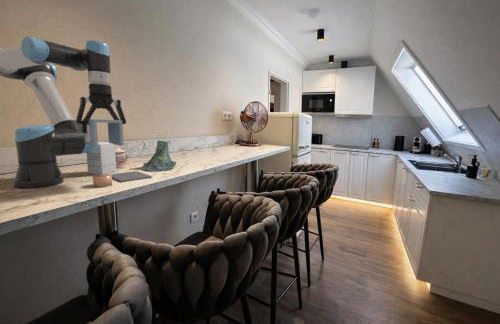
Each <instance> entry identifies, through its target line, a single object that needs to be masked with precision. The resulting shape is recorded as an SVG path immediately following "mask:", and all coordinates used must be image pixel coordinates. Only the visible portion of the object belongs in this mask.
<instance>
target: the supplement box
mask: <svg viewBox="0 0 500 324" xmlns="http://www.w3.org/2000/svg"><path fill="white" fill-rule="evenodd" d="M115 145H116V144H111V143H109V142H106V141H105V142H104V141H98V147H94V146H93V148H92V149H91V151H90V152H88V153H86V163H87V173H88V174H91V175H97V174H114V173H116V172H117V168H116V157H115Z"/></svg>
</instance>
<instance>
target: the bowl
mask: <svg viewBox="0 0 500 324" xmlns="http://www.w3.org/2000/svg"><path fill="white" fill-rule="evenodd" d="M111 174H112V173H109V174H93V175H92V183H93V185H92V186H93V187H95V188H107V187H111V186H112V185H113V179H112V175H111Z"/></svg>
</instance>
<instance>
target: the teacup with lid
mask: <svg viewBox="0 0 500 324" xmlns="http://www.w3.org/2000/svg"><path fill="white" fill-rule="evenodd" d="M115 157H116V169H123V168H125V167H126V162H127V161H128V160H129V155H128V153H126V151H125V150H124V149H121V148H119V147H118V145H116V146H115Z"/></svg>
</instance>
